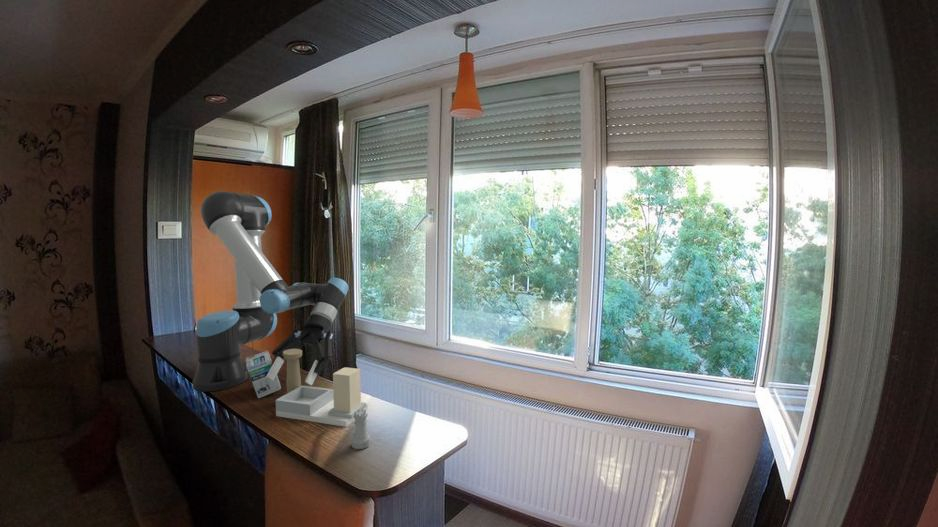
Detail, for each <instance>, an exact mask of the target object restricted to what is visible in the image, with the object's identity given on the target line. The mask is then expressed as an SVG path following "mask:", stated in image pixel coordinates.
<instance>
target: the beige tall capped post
mask: <svg viewBox="0 0 938 527" xmlns="http://www.w3.org/2000/svg"><path fill="white" fill-rule="evenodd" d="M282 355H283V357H284V359H283V360H286V379H285V380H286V382H285V384H286V385H285V386H286V394H287V393H289V392H291V391H293V390H295V389H296V388H298V387H300V386H302V379H301V369H300V368H301V367H300V358H302V357H303V350H302V349H300V348H298V349H288V350H284V351H283V354H282Z"/></svg>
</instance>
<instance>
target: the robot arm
mask: <svg viewBox="0 0 938 527" xmlns="http://www.w3.org/2000/svg"><path fill="white" fill-rule="evenodd" d="M204 198H205V199H203V201H202V204H201V205H200V214H201V218H202V222H203V224H204V225H205V226H206V228H207V229H208V230H209V232H210V233H211V234H213V236H214V235H215V236H217V237H218V238H219V239H220V241H221V242H222V243H223V245H224V246H225V247H226V249H227V250H228V252H229V253H230V254H231V255H232V257H233V258H234V269H235V271H234V272H235V284H236V303H235V304H233V305H232V309H231V310H221V311H216V312H212V313H208V314H206V315H204V316H201V317H200V318H199V319H198V320H197V322H196V330H195V335H196V343H197V345H196V346H197V366H196V370H195V373H194V376H193V379H192V390H194V391H196V392H203V393H204V392H206V393H207V392H214V391H215V392H216V391H222V390H226V389H229V388H234V387H236V386H239V385H241V384H242V383H244V382H245V381H247V379H248V369H247V368H246V366H245V363H244V361H243V359H242V356H241V346H243V345H247V344H250V343H253V342H255V341H260V340H262V339H264V338H266V337H269V336H271V334H272V333H273V332H274V331H275V329H276V328H277V324H278V317H277V316H278V315H277V314H279V313H284V312H287V311H289V310H293V309H298V308H301V307H305V306H310V305H311V306H314V307H313V309H312V310H311V312H310V315H309V316H308V317H307V319H306V321H305V323H304V328H303V329H302V330H298V329H297V328H294V329H293V330H292V332H291V334H290V335H289V336H287V337H286V338H285V339H284V340H283V341H282V342H281V343H280V344H279V345H278V346H277V347H275V348H274V349H273V350H272V351H271V355H272V356H274V359H273V360H272V364H271V369H270V370H269V372H268V374H267V376H266V377H267V378H268V379H269V380H271V381H273V380H274V379H275V377H276V375H277V376H278V373H279V371H280V369H281V367H282V366H283V364H284V362H285V359H284V357H283V351H284V350H288V349H300V348H303V347H304V346H306V347H314V349H315V353H316V355H317V357H316V358H317V359H315V360H314V362H313V364H312V366H311V369H310V370H309V372H308V374H307V376H306V378H305V380H304V382H305V383H306V384H308V386H313V384H314V382H315V380H316V377H317V376H318V375H319V374H320V373H321V371H322V369H323V367H324V365H325V364H326V363H327V364H329V363H332V362H333V341H334V338H335V336H334V334H333V333H332V332H331V331H330V329H331V327H332V324H333V322H334V320H335V318H336V316H337V315H338V312H339V310H340V307H341V306H342V304H343V302H344V301H345V299H346V297H347V294H348V292H349V288H350V286H349V285H348V283H347V282H346V281H345V280H344V279H343V278H338V277H332V278H330V279H329V280H328V281H327V282H326V283H311V282H310V283H308V282H295V283H293V284H292V285H289V286H288V284H287V282H285V280H284V279H283V278H282V276H281V275H280V274H279V272H278V271H277V270H276V268H275V267H274V266H273V265H272V263H271V262H270V260H269V259H268V258H267V257H266V255H265V254H264V253H263V252H262V250H263V249H262V236H263V235H264V233H265V232H266V227H267V226H268V225H269V224H270V222H271V220H272V217H273V216H272V215H273V214H272V209H271V207H270V205H269V203H268V202H267V201H266V200H265V199H264V198H262V197H260V196H257V195H256V196H255V195H253V194H247V193H241V192H240V193H239V192H232V191H231V192H230V191H225V190H219V191H214V192H212V193H210V194H208V195H207V196H206V197H204ZM323 340H324V348H323V344H322V341H323ZM323 349H324V350H323Z"/></svg>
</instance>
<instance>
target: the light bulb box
mask: <svg viewBox="0 0 938 527" xmlns="http://www.w3.org/2000/svg"><path fill="white" fill-rule="evenodd" d="M272 362H273V360H272V358H271V355H270V352H269V350H265V351H263V352H259V353H256V354H254V355H250V356H247V357H246V358H245V363H246V364H245V365H246V370H247V373H248V375H249V377H250V380H251V383H252V386H253V389H254V391H255V394H256V396H257V399H260V398H263V397H266V396H268V395H270V394H272V393H276V392H278V391H279V390H281V389H282V387H281V382H280V379H279V377H278V374H277V375H276V377H275V379H274V380H273V381H271V380H269V379H268V378H267V377H266V376H267V374H268V372H269V370H270V369H271V364H272Z"/></svg>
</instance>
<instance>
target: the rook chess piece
mask: <svg viewBox="0 0 938 527" xmlns="http://www.w3.org/2000/svg"><path fill="white" fill-rule="evenodd" d="M368 414H369V413H367V410H364V409H362V411H360V409H359V410H358V412H357V411H355V414H354V416H353V418H354V419H355V420H354V426H355V427H354V428H355V430H354V433H353V436H352V437H351V444H350V446H351V447H352V448H353V449H354V450H364V449H366V448H367V447H369V446H370V444H371V443H372V441H371V435H370V433H369V432H368V428H367V422H368V420H367V417H368Z"/></svg>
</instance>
